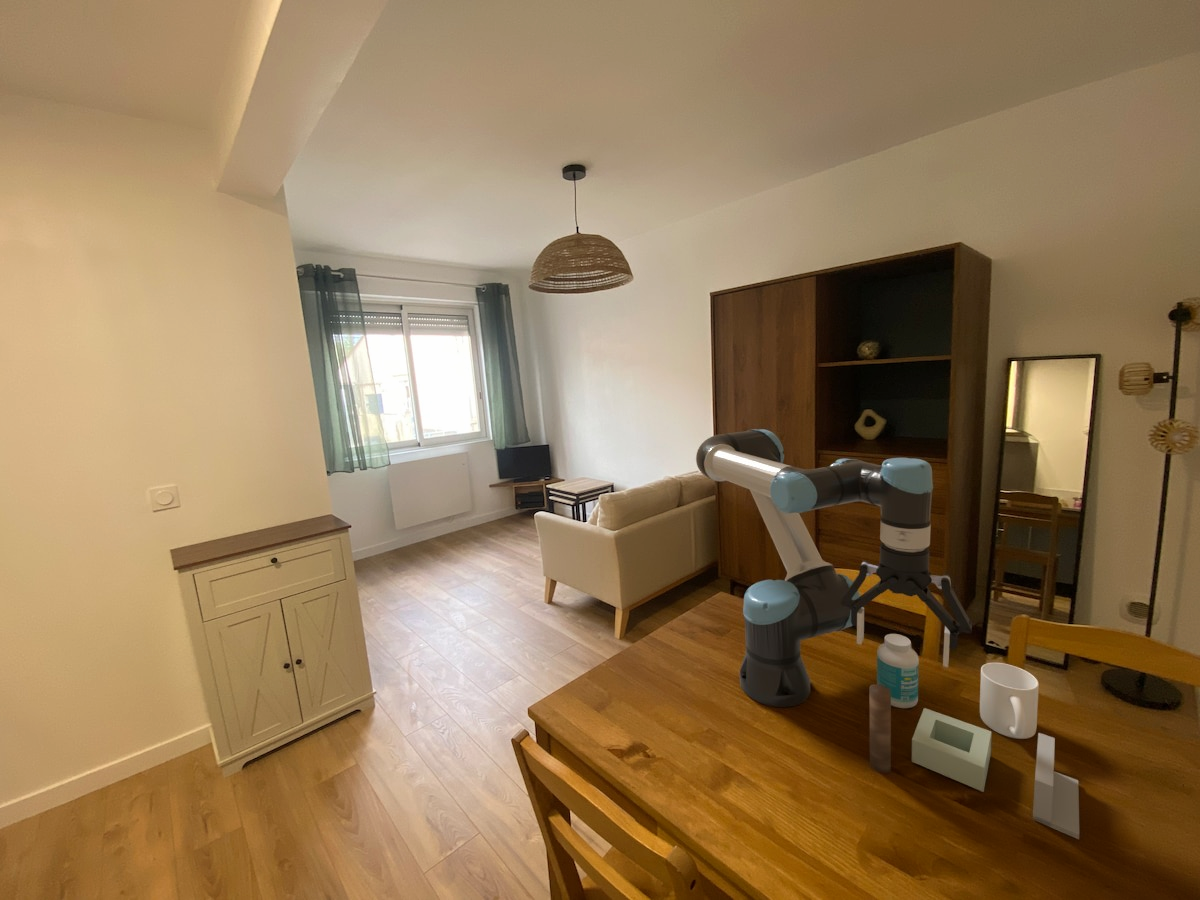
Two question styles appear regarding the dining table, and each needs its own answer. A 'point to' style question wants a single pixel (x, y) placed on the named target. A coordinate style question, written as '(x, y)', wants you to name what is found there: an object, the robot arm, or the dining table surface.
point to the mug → (1009, 700)
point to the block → (952, 748)
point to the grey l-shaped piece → (1054, 792)
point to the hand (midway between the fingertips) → (901, 651)
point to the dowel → (880, 728)
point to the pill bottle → (898, 670)
